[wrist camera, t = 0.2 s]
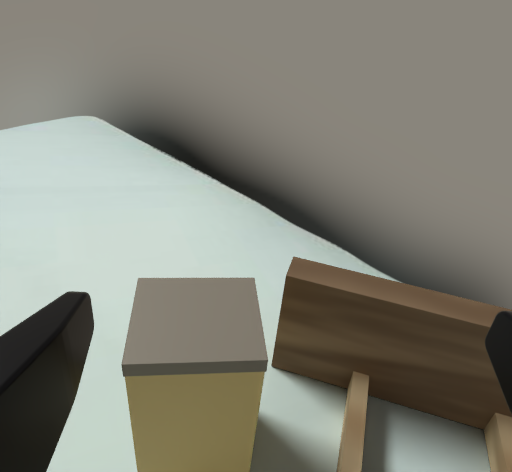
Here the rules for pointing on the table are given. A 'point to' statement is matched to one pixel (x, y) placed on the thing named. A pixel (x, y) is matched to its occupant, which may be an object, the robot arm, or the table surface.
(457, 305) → the wall board
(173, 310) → the grey-topped square block
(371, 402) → the table surface
